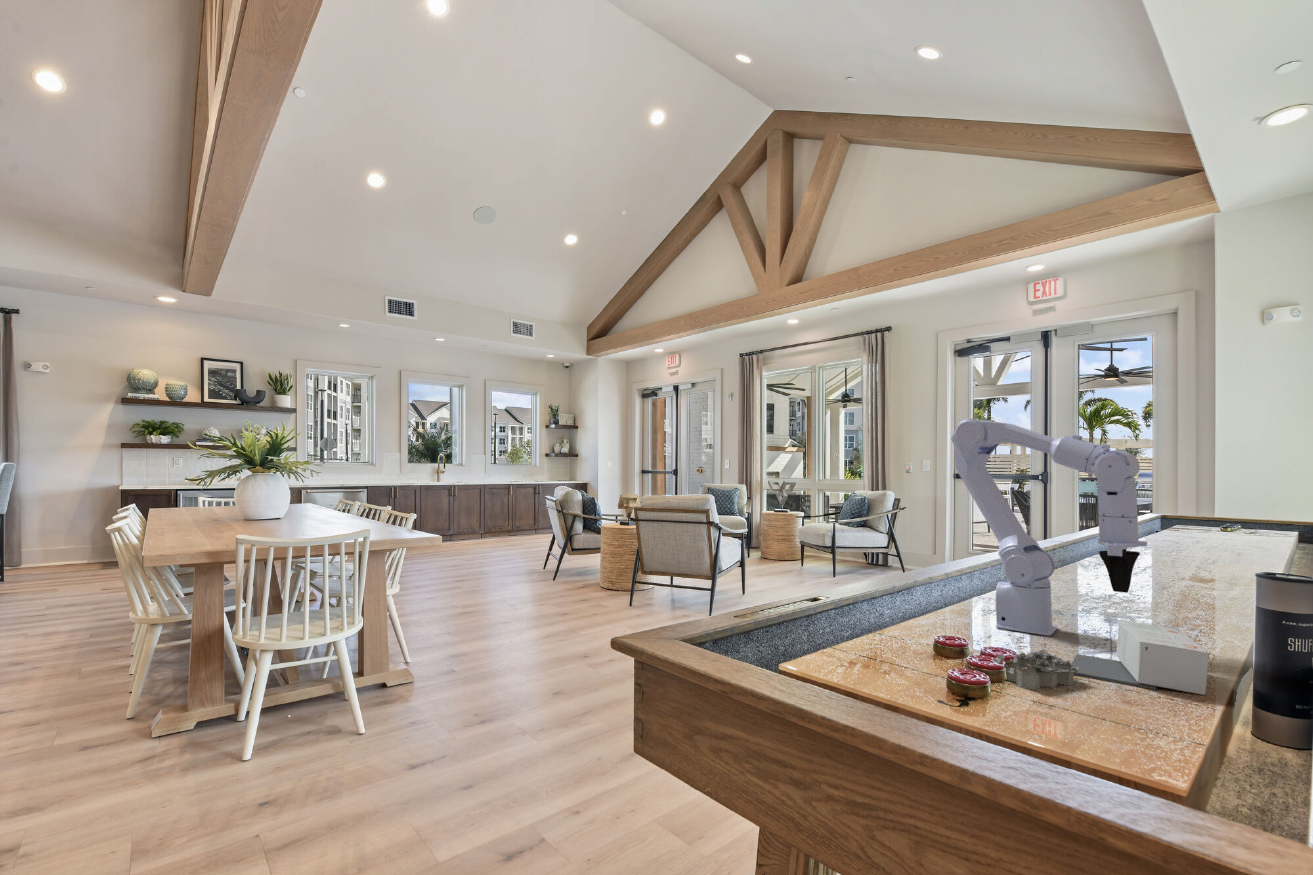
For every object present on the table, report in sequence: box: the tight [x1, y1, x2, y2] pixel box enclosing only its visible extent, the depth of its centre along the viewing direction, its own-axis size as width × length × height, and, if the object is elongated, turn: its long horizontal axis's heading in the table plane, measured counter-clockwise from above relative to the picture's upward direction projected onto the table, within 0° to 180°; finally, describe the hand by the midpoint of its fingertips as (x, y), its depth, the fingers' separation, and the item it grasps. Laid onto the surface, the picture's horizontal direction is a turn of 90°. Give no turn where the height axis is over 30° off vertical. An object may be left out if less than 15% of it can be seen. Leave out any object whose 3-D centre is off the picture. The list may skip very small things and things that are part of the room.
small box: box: [1116, 619, 1210, 696], centre depth 95 cm, size 8×6×13 cm
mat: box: [1070, 653, 1158, 691], centre depth 97 cm, size 11×11×1 cm
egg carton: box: [993, 649, 1080, 690], centre depth 94 cm, size 10×7×4 cm
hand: (1120, 591), depth 111 cm, fingers closed
